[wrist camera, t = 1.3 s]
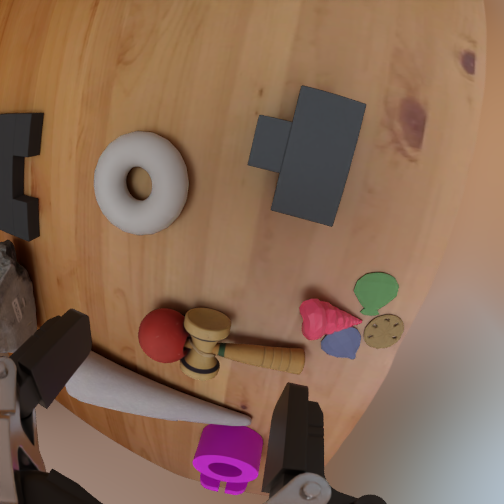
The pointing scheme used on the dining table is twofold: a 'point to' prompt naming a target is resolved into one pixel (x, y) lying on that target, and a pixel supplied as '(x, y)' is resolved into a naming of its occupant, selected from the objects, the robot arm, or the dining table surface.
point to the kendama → (207, 344)
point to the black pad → (18, 173)
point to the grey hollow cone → (143, 395)
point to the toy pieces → (354, 318)
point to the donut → (162, 175)
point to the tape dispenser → (228, 457)
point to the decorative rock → (15, 301)
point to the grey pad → (309, 153)
